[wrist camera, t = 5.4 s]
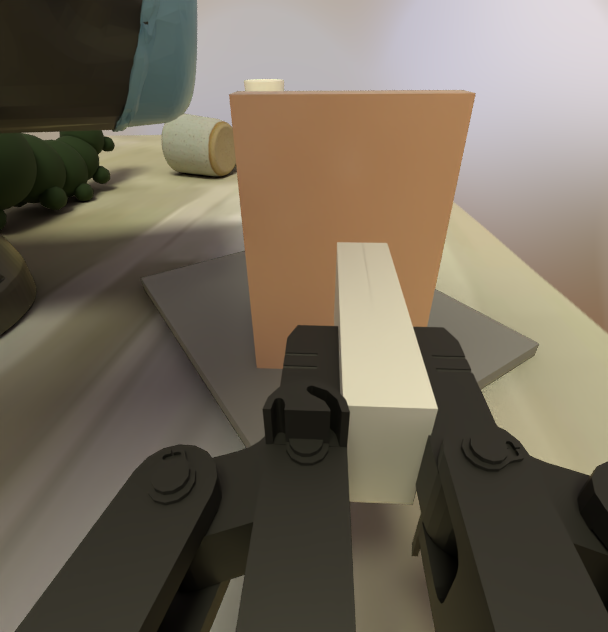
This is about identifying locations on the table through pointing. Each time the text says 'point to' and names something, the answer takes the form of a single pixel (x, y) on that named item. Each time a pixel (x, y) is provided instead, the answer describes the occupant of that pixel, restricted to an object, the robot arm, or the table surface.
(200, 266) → the mat
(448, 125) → the tile
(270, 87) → the white cup
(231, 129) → the ceramic mug
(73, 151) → the toy figurine
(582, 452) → the table surface
